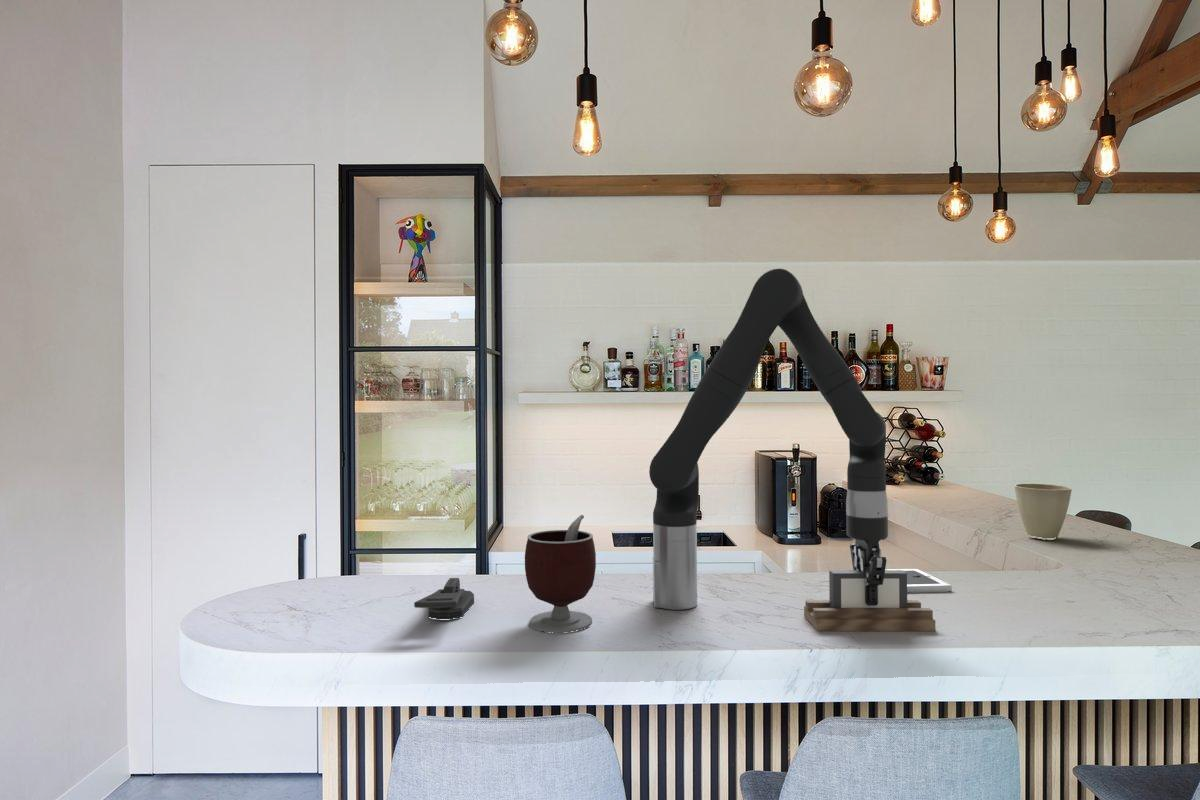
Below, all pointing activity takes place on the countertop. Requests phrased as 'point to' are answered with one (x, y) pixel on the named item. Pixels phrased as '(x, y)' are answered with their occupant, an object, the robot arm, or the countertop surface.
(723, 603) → the countertop surface
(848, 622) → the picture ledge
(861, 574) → the grey photo frame
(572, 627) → the mate gourd
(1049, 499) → the plant pot
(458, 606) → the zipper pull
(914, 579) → the picture frame
